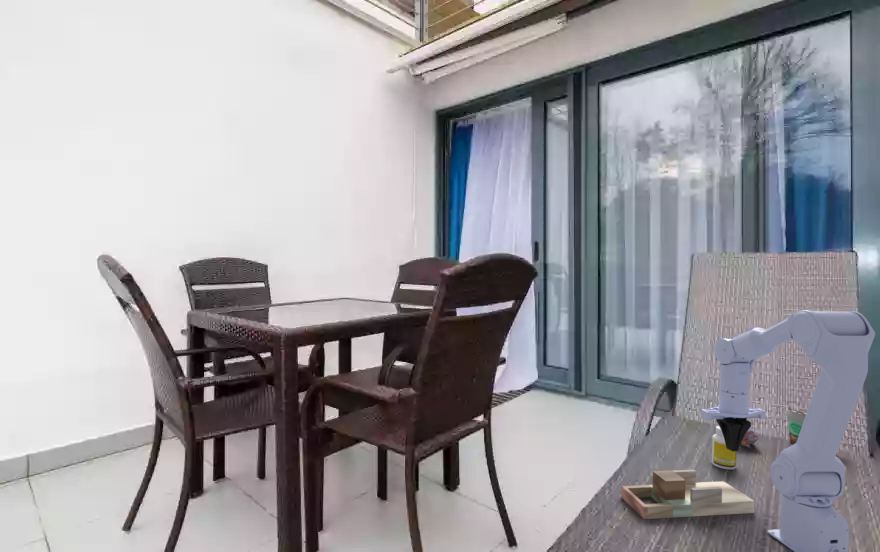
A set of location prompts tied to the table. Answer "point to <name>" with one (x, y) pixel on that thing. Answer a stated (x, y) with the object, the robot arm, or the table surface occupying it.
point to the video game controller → (749, 438)
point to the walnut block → (669, 485)
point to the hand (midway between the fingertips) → (732, 449)
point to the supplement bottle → (722, 452)
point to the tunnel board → (688, 499)
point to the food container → (794, 423)
